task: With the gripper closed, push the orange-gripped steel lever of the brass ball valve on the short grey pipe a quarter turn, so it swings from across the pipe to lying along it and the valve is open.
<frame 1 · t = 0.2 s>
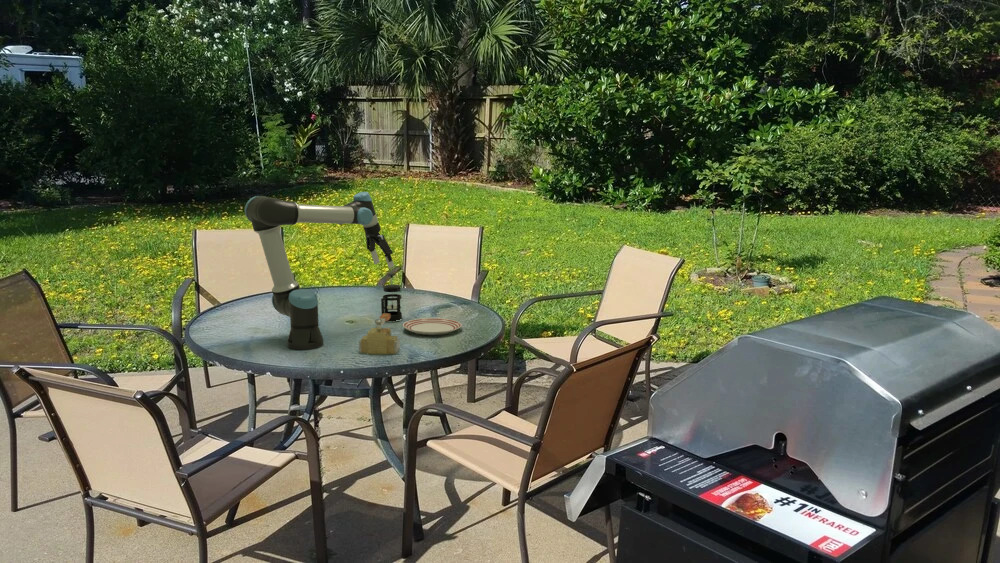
hand: (384, 265, 353), 28 cm above the table, tool tilted 20°, fingers open, 13 cm apart
valve lever: (382, 321, 313), point 11 cm above the table, hinge at 0.0°
valve pipe: (379, 351, 309), on the table
french press: (391, 320, 361), on the table
dinner plate: (432, 331, 343), on the table
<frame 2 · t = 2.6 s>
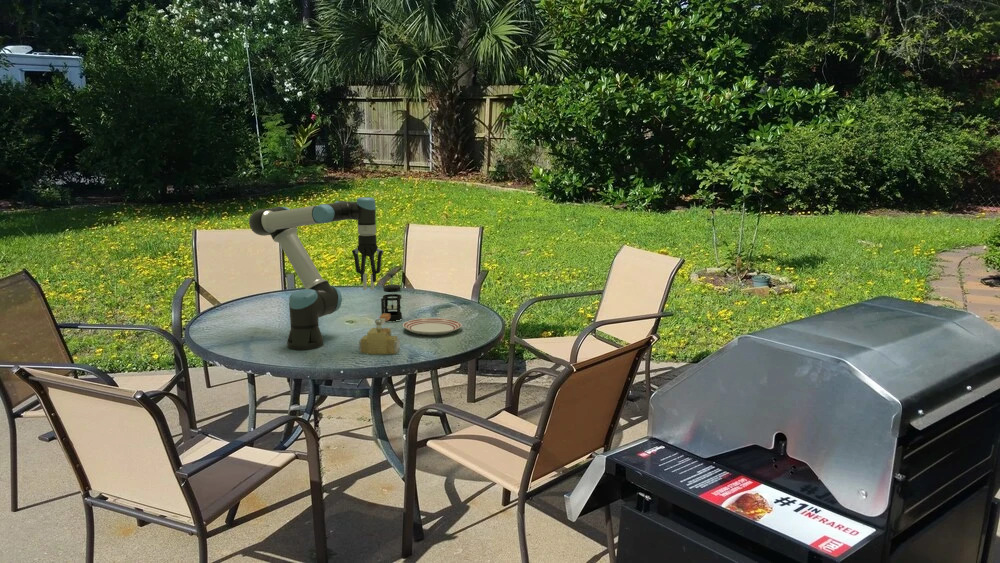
hand: (368, 289, 315), 25 cm above the table, tool pointing down, fingers open, 3 cm apart
nothing on the table moved.
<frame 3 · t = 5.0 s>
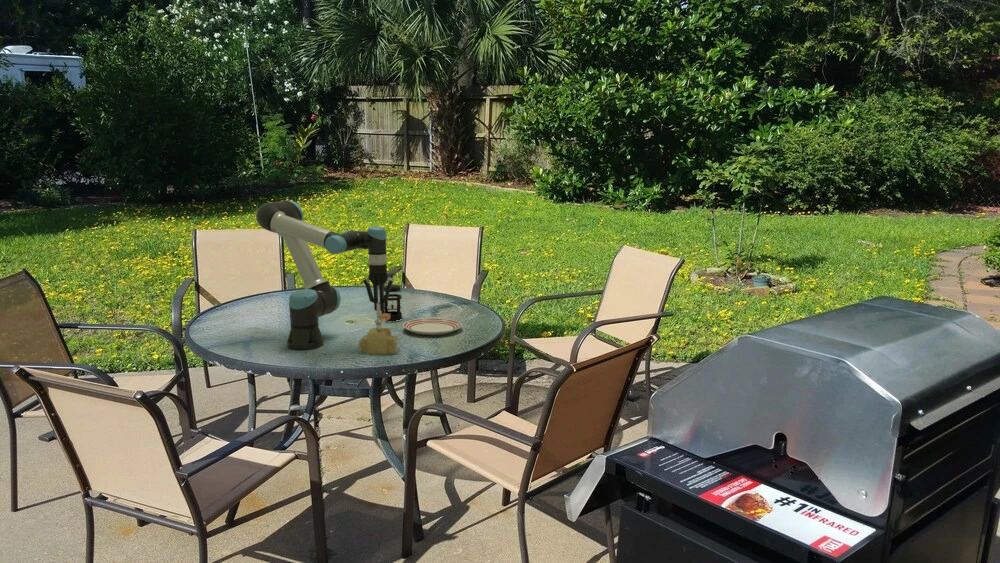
hand: (379, 317, 317), 12 cm above the table, tool pointing down, fingers closed
valve lever: (382, 321, 313), point 11 cm above the table, hinge at 0.0°, touching gripper
everything else where it was.
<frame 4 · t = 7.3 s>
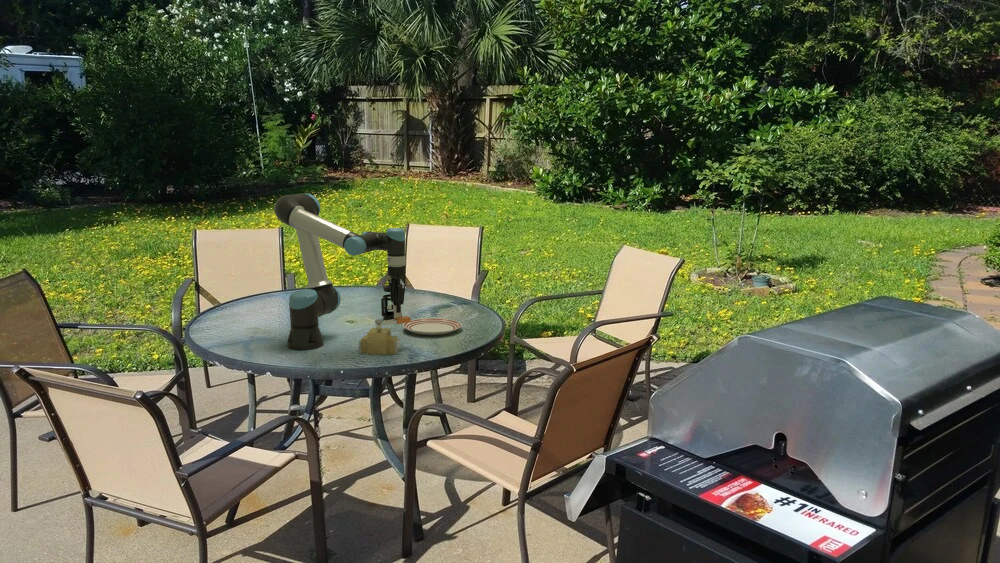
hand: (397, 319, 314), 12 cm above the table, tool pointing down, fingers closed
valve lever: (392, 323, 310), point 11 cm above the table, hinge at -49.4°, touching gripper
everything else where it was.
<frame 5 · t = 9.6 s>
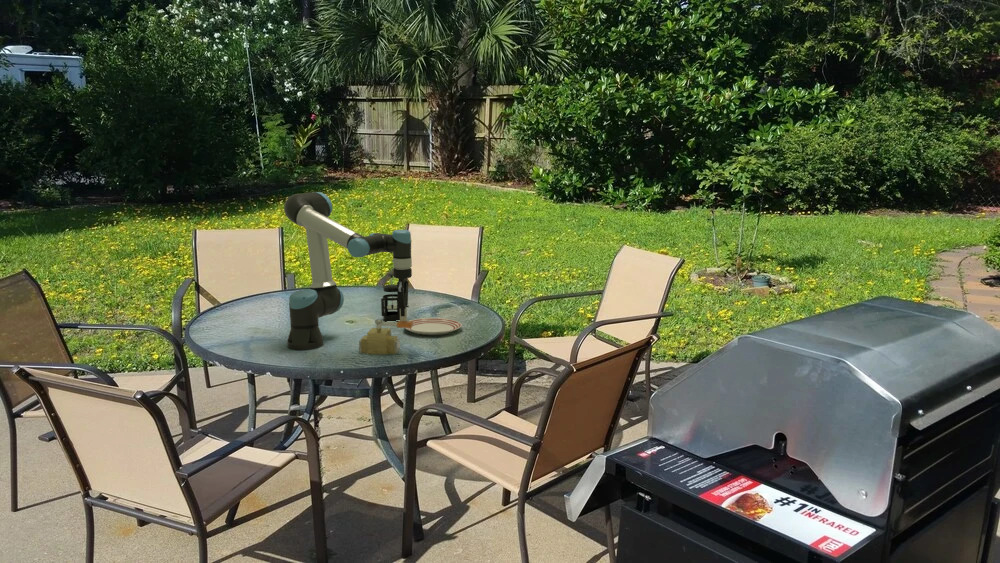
hand: (403, 323, 308), 12 cm above the table, tool pointing down, fingers closed
valve lever: (393, 325, 306), point 11 cm above the table, hinge at -89.6°, touching gripper
everything else where it was.
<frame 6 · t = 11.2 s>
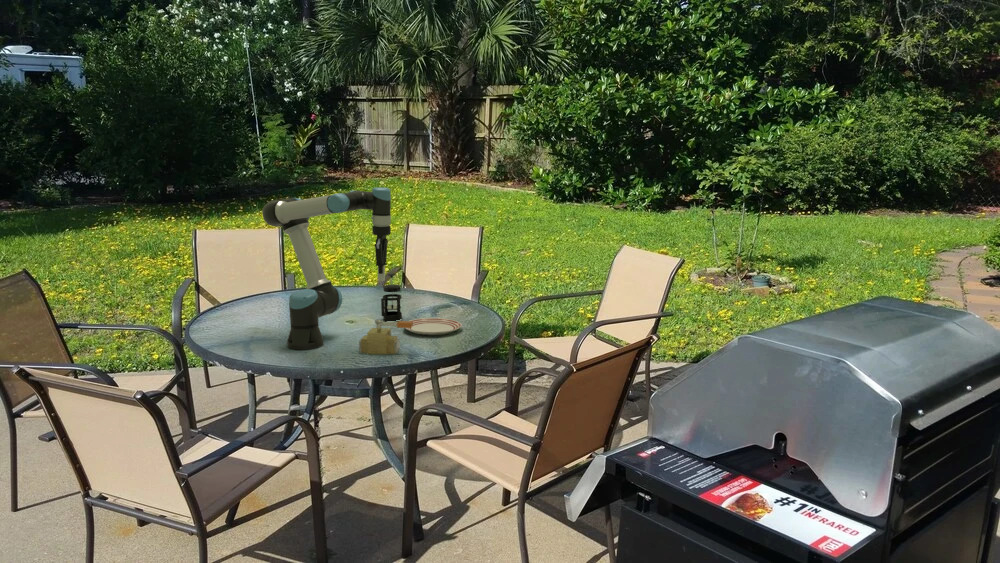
hand: (381, 280, 311), 29 cm above the table, tool pointing down, fingers closed
valve lever: (393, 325, 306), point 11 cm above the table, hinge at -90.0°
everything else where it was.
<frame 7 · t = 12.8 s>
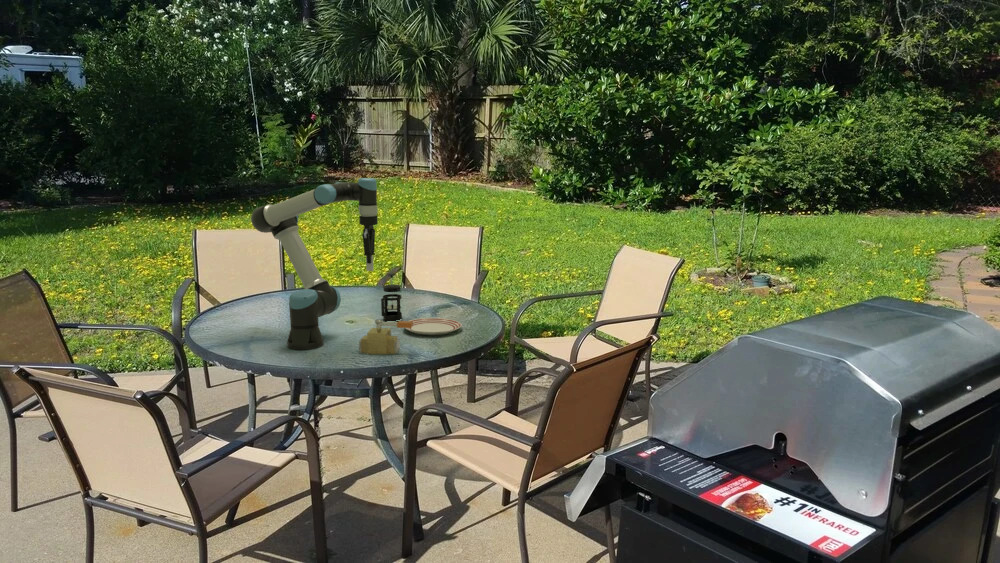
hand: (370, 270, 314), 32 cm above the table, tool pointing down, fingers closed
nothing on the table moved.
at the end: valve lever at -90° (first picture: +0°); dinner plate moved 0.5 cm from its start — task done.
